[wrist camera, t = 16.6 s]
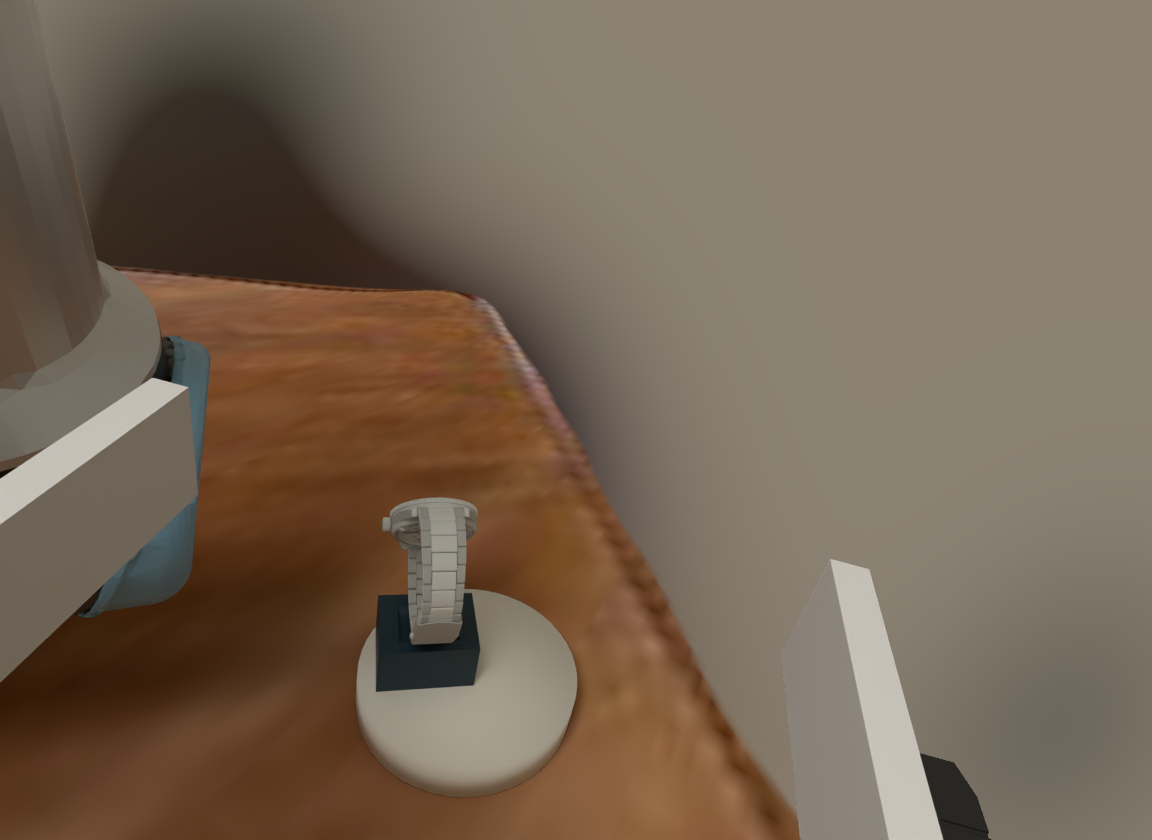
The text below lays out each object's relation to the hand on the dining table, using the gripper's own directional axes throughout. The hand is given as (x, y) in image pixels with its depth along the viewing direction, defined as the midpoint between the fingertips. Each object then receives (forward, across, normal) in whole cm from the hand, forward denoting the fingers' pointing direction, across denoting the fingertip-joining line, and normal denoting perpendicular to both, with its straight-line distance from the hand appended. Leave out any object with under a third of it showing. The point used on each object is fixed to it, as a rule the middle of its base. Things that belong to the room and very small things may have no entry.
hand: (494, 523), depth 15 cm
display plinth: (+17, -2, -29) cm, 34 cm away
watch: (+17, -5, -26) cm, 32 cm away
